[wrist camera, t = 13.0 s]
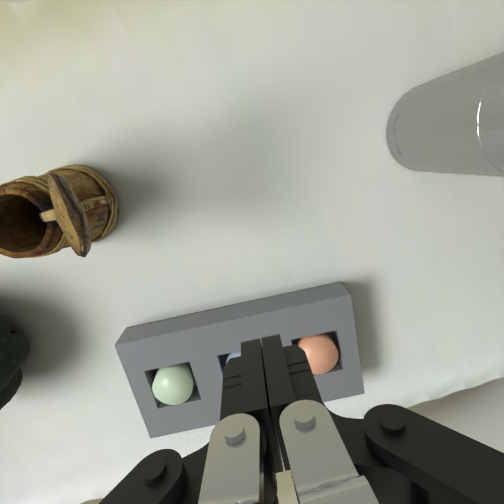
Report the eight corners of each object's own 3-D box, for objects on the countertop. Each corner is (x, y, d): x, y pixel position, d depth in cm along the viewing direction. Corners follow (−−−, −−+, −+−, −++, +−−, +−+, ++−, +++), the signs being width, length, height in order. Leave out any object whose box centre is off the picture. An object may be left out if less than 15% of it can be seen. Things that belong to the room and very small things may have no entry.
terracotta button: (328, 322, 41) (335, 335, 38) (333, 354, 42) (341, 370, 39) (291, 330, 41) (295, 344, 38) (297, 362, 42) (302, 378, 39)
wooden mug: (166, 228, 38) (106, 286, 21) (54, 250, 38) (-98, 326, 21) (145, 150, 35) (56, 142, 18) (25, 174, 35) (-176, 188, 18)
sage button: (190, 352, 41) (186, 367, 38) (199, 382, 42) (196, 400, 39) (153, 359, 41) (147, 376, 38) (164, 390, 42) (158, 408, 39)
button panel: (340, 281, 41) (351, 294, 37) (353, 373, 45) (364, 393, 41) (126, 327, 41) (114, 345, 37) (157, 414, 45) (150, 438, 41)
